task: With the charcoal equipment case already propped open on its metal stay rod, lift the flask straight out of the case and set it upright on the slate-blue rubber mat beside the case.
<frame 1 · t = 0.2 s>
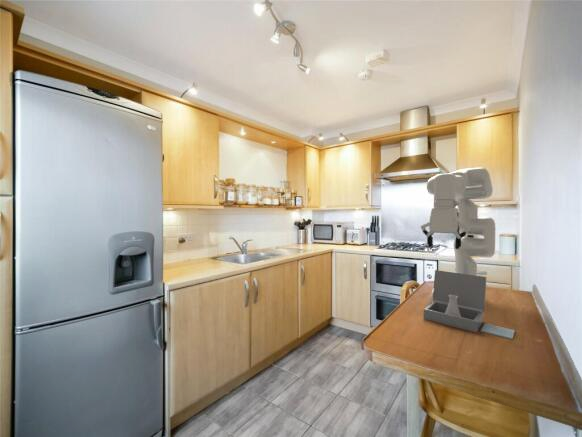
hand: (443, 247, 106), 30 cm above the table, tool pointing down, fingers open, 9 cm apart
lid and stay: (456, 291, 112), point 10 cm above the table
case: (452, 320, 107), on the table
mat: (497, 331, 97), on the table
flask: (452, 320, 107), resting in case
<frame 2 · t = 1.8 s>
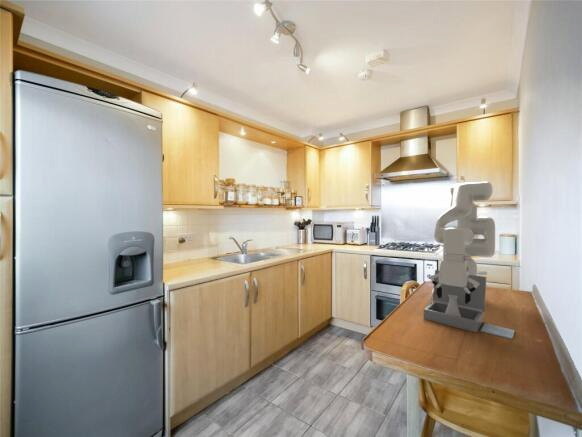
hand: (452, 300, 107), 8 cm above the table, tool pointing down, fingers open, 9 cm apart
nothing on the table moved.
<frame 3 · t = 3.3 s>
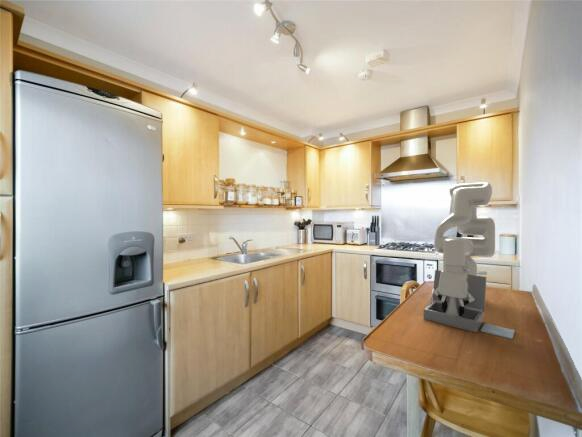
hand: (452, 313, 107), 3 cm above the table, tool pointing down, fingers closed on flask, 4 cm apart
flask: (452, 320, 107), resting in case, touching gripper
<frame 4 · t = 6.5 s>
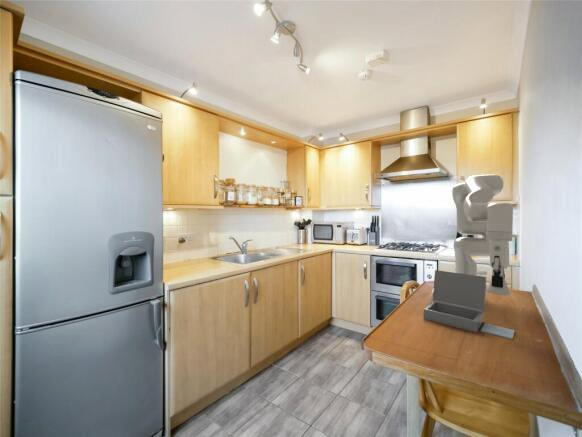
hand: (498, 285, 97), 17 cm above the table, tool pointing down, fingers closed on flask, 4 cm apart
flask: (497, 293, 97), point 14 cm above the table, touching gripper
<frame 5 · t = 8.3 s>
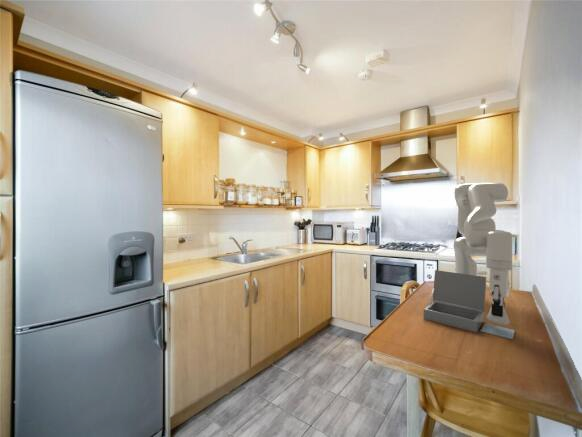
hand: (498, 313, 97), 7 cm above the table, tool pointing down, fingers closed on flask, 4 cm apart
flask: (497, 321, 97), point 4 cm above the table, touching gripper
when the fingers open (4 cm above the table, at t = 9.6 s): flask stays where it is, resting on mat.
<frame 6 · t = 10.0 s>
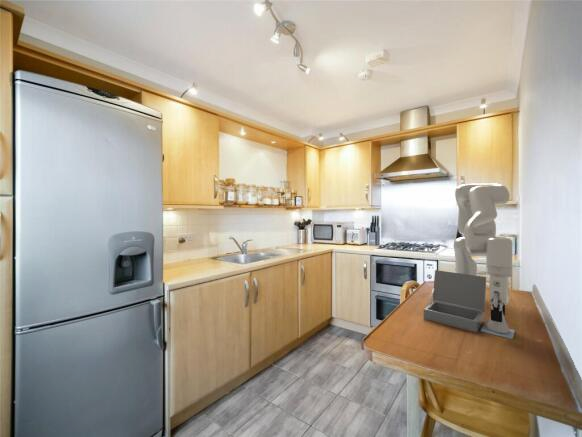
hand: (497, 317, 97), 5 cm above the table, tool pointing down, fingers open, 8 cm apart
flask: (497, 330, 98), resting on mat
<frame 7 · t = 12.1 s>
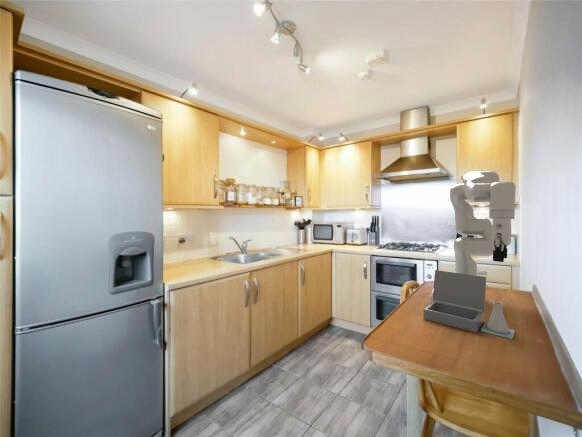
hand: (500, 259, 101), 26 cm above the table, tool pointing down, fingers open, 9 cm apart
nothing on the table moved.
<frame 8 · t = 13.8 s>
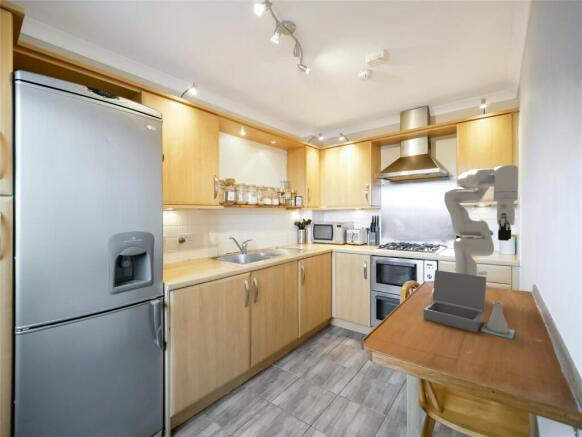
hand: (504, 239, 105), 33 cm above the table, tool pointing down, fingers open, 9 cm apart
nothing on the table moved.
at the end: flask inside the target area (0.2 cm from its centre), resting on mat; flask tilted 0°; the gripper is holding nothing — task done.
